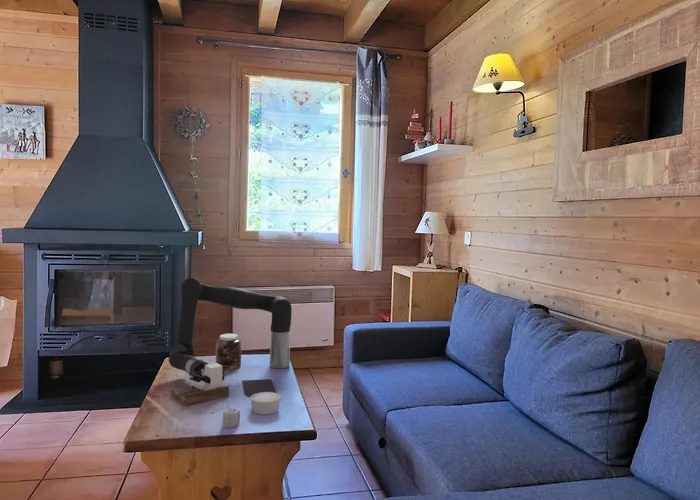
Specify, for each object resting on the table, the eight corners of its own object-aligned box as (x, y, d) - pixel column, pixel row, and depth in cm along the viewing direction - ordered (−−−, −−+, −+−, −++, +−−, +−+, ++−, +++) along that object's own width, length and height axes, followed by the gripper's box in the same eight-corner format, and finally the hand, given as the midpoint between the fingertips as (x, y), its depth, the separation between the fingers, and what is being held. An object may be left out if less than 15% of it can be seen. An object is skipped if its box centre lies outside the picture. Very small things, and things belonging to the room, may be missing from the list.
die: (222, 427, 175) (222, 413, 175) (225, 421, 180) (225, 407, 180) (236, 428, 175) (237, 413, 175) (239, 422, 180) (240, 408, 180)
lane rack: (171, 397, 201) (171, 385, 201) (212, 388, 212) (212, 377, 212) (186, 408, 191) (186, 395, 190) (228, 398, 202) (228, 386, 202)
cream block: (204, 394, 202) (204, 364, 201) (216, 392, 206) (216, 362, 205) (210, 398, 199) (210, 368, 198) (221, 395, 202) (222, 365, 201)
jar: (215, 363, 248) (216, 333, 247) (240, 362, 250) (241, 332, 249) (215, 371, 236) (215, 338, 235) (241, 369, 239) (241, 338, 238)
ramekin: (251, 405, 197) (252, 391, 196) (281, 404, 198) (281, 391, 197) (248, 416, 185) (249, 402, 185) (279, 416, 186) (280, 402, 186)
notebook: (241, 384, 221) (244, 401, 201) (241, 380, 221) (244, 397, 201) (271, 382, 225) (277, 399, 204) (271, 378, 224) (277, 395, 204)
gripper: (181, 362, 207) (199, 373, 195) (214, 357, 217) (233, 367, 204) (180, 380, 208) (199, 392, 195) (213, 374, 217) (233, 385, 205)
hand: (216, 379), depth 200 cm, fingers closed on cream block, 5 cm apart
